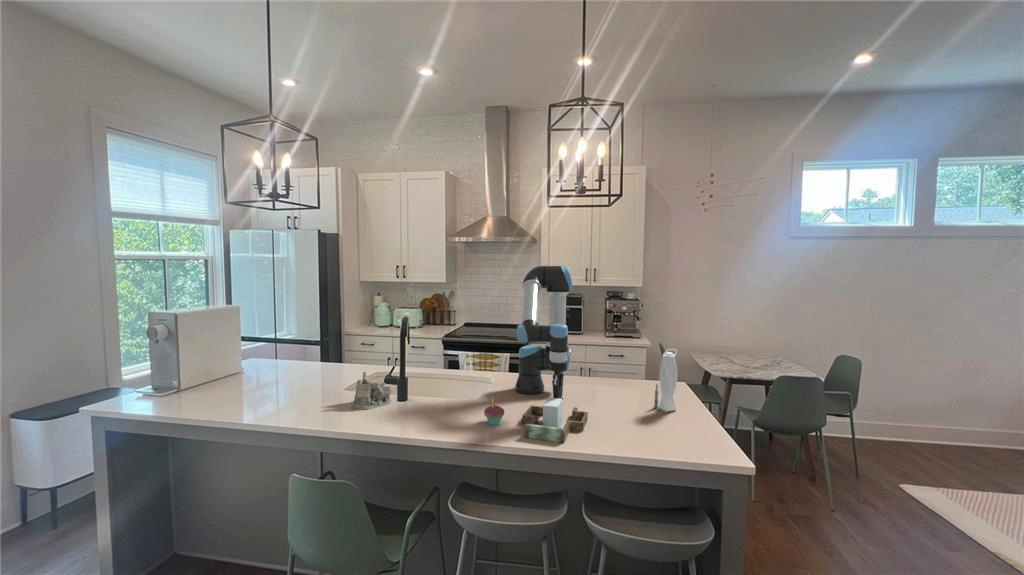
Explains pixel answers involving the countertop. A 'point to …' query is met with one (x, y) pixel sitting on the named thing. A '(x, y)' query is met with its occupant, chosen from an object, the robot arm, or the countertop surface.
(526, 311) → the robot arm
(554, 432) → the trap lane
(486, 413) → the cupcake
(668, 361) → the skyscraper
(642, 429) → the countertop surface
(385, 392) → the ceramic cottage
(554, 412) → the skincare box
